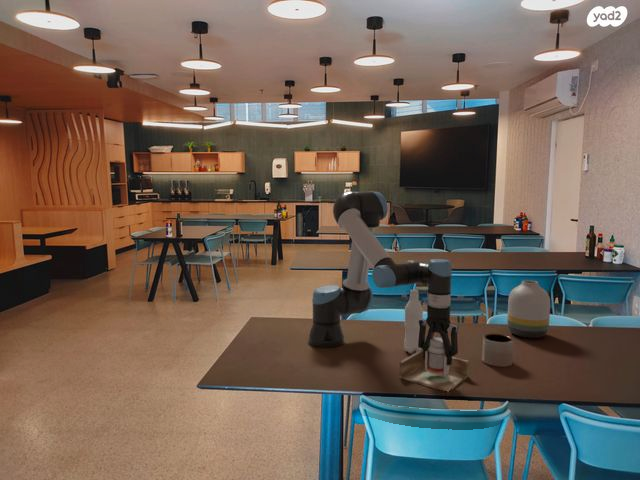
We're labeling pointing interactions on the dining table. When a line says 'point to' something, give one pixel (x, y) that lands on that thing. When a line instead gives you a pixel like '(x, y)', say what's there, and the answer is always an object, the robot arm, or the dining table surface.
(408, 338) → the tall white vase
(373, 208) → the robot arm
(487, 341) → the planter
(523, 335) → the vase
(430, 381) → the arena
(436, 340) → the pill bottle
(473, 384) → the dining table surface
